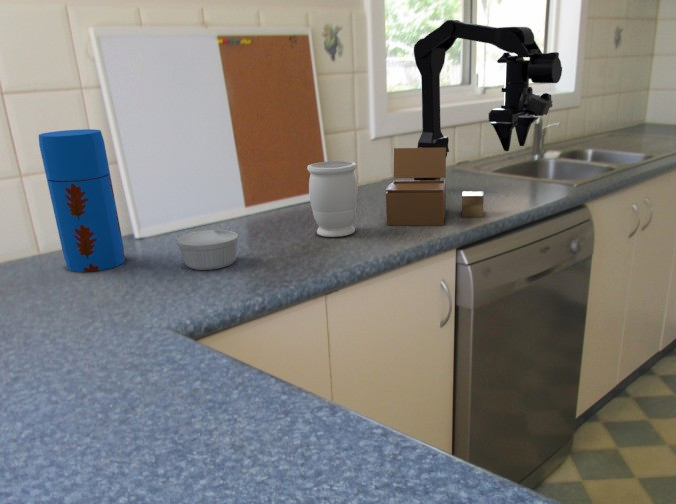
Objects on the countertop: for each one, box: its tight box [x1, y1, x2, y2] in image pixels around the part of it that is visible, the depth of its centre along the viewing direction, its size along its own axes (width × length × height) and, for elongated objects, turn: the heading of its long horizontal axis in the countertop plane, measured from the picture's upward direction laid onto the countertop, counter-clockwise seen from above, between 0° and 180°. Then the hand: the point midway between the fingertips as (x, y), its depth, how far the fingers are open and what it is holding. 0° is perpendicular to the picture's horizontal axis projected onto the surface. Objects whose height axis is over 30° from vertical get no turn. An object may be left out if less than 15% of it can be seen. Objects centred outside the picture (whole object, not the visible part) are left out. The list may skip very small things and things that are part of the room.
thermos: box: [38, 128, 126, 273], centre depth 125 cm, size 11×11×25 cm
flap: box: [393, 147, 447, 179], centre depth 161 cm, size 7×13×1 cm
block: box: [461, 191, 485, 218], centre depth 158 cm, size 5×5×5 cm
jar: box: [307, 160, 359, 238], centre depth 144 cm, size 11×10×15 cm
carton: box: [385, 179, 447, 226], centre depth 156 cm, size 15×13×8 cm
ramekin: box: [176, 229, 239, 271], centre depth 127 cm, size 11×11×5 cm
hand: (514, 148), depth 166 cm, fingers open, 9 cm apart
